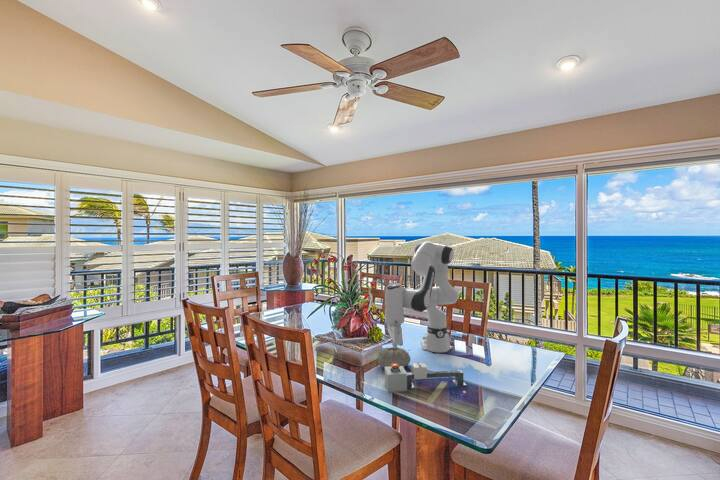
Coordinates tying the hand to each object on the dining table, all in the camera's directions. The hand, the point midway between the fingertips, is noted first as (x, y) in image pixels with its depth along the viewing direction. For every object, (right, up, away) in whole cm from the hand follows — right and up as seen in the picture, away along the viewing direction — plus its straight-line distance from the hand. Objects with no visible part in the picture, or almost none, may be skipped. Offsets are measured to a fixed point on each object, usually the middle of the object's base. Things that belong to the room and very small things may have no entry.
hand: (394, 347), depth 153 cm
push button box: (0, -19, 0) cm, 19 cm away
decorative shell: (+2, -19, +23) cm, 30 cm away
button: (0, -15, 0) cm, 15 cm away
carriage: (+12, -14, +1) cm, 19 cm away
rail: (+19, -19, +1) cm, 26 cm away
